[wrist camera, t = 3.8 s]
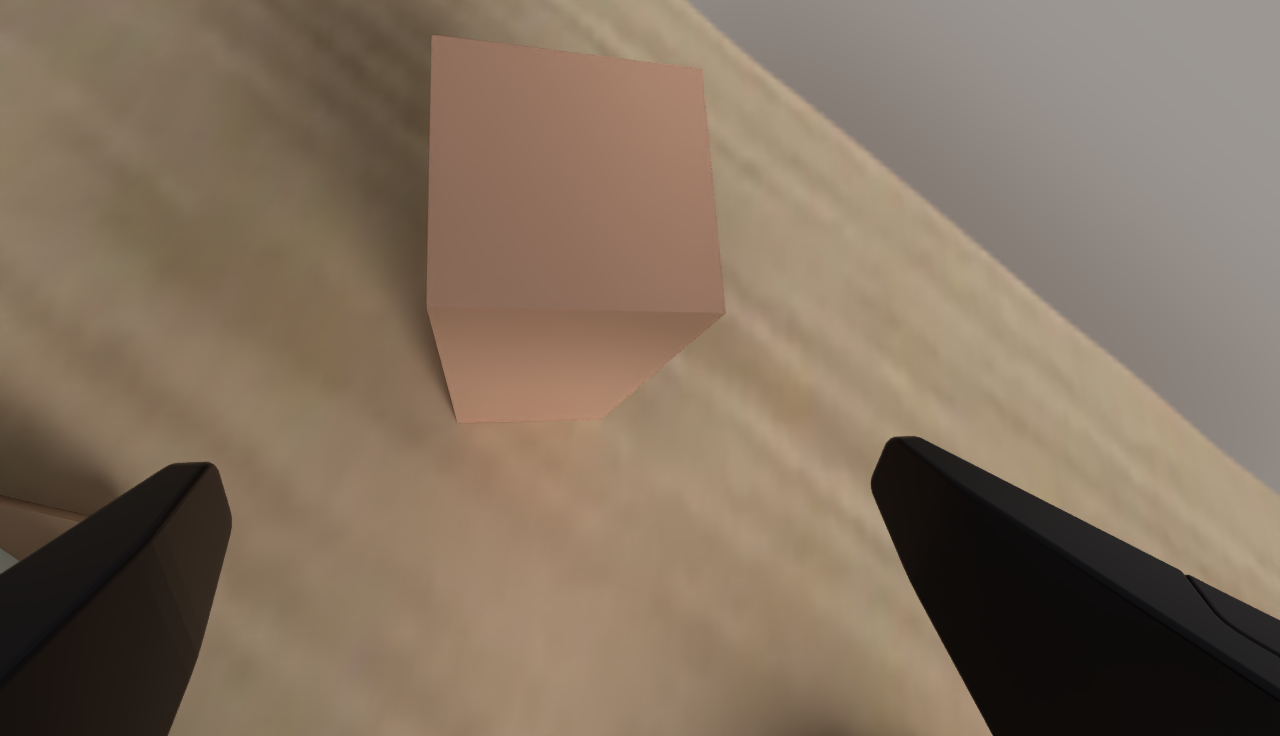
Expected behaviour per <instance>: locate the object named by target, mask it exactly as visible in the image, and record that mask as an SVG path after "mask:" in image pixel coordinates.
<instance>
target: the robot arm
mask: <svg viewBox="0 0 1280 736" xmlns="http://www.w3.org/2000/svg"><path fill="white" fill-rule="evenodd" d="M871 490H872V494H873V496H874V499H875V501H876V503H877V506H878V508H879V510H880V513H881V515H882V517H883V520H884V522H885V525H886V527H887V529H888V532H889V534H890V536H891V539H892V541H893V543H894V546H895V548H896V551H897V553H898V555H899V558H900V560H901V562H902V565H903V567H904V569H905V572H906V574H907V576H908V578H909V580H910V582H911V584H912V586H913V588H914V590H915V592H916V594H917V596H918V598H919V600H920V602H921V604H922V605H923V607H924V609H925V611H926V613H927V615H928V617H929V618H930V620H931V622H932V624H933V626H934V628H935V630H936V631H937V633H938V635H939V637H940V639H941V641H942V643H943V644H944V646H945V648H946V650H947V652H948V654H949V655H950V657H951V659H952V661H953V663H954V665H955V667H956V668H957V670H958V672H959V674H960V676H961V678H962V680H963V681H964V683H965V685H966V687H967V689H968V691H969V692H970V694H971V696H972V698H973V700H974V702H975V704H976V705H977V707H978V709H979V711H980V713H981V715H982V717H983V718H984V720H985V722H986V724H987V726H988V728H989V729H990V731H991V733H992V735H993V736H1280V620H1278V619H1276V618H1274V617H1272V616H1270V615H1268V614H1266V613H1264V612H1262V611H1260V610H1258V609H1256V608H1254V607H1252V606H1250V605H1248V604H1246V603H1244V602H1242V601H1240V600H1238V599H1236V598H1234V597H1232V596H1230V595H1228V594H1226V593H1224V592H1222V591H1220V590H1218V589H1216V588H1214V587H1212V586H1210V585H1208V584H1206V583H1204V582H1202V581H1200V580H1198V579H1196V578H1194V577H1193V576H1190V575H1184V574H1183V572H1182V571H1180V570H1179V569H1177V568H1175V567H1173V566H1171V565H1169V564H1167V563H1165V562H1163V561H1161V560H1159V559H1157V558H1155V557H1153V556H1151V555H1149V554H1147V553H1145V552H1143V551H1141V550H1139V549H1137V548H1135V547H1134V546H1132V545H1130V544H1128V543H1126V542H1124V541H1122V540H1120V539H1118V538H1116V537H1114V536H1112V535H1110V534H1108V533H1106V532H1104V531H1102V530H1100V529H1098V528H1096V527H1094V526H1092V525H1090V524H1088V523H1087V522H1085V521H1083V520H1081V519H1079V518H1077V517H1075V516H1073V515H1071V514H1069V513H1067V512H1065V511H1063V510H1061V509H1059V508H1057V507H1055V506H1053V505H1051V504H1049V503H1047V502H1045V501H1043V500H1042V499H1040V498H1038V497H1036V496H1034V495H1032V494H1030V493H1028V492H1026V491H1024V490H1022V489H1020V488H1018V487H1016V486H1014V485H1012V484H1010V483H1008V482H1006V481H1004V480H1002V479H1000V478H998V477H997V476H995V475H993V474H991V473H989V472H987V471H985V470H983V469H981V468H979V467H977V466H975V465H973V464H971V463H969V462H967V461H965V460H963V459H961V458H959V457H957V456H955V455H953V454H951V453H950V452H948V451H946V450H944V449H942V448H940V447H938V446H936V445H934V444H932V443H930V442H928V441H926V440H924V439H922V438H920V437H916V436H900V437H893V438H891V439H890V440H889V441H887V443H886V444H885V447H884V449H883V451H882V454H881V456H880V458H879V461H878V463H877V465H876V468H875V470H874V472H873V475H872V478H871ZM231 528H232V516H231V511H230V507H229V504H228V500H227V497H226V494H225V490H224V487H223V484H222V480H221V477H220V473H219V471H218V469H217V467H216V466H215V465H214V464H212V463H210V462H187V463H174V464H170V465H168V466H166V467H165V468H163V469H161V470H160V471H158V472H157V473H155V474H154V475H152V476H151V477H149V478H147V479H146V480H144V481H143V482H141V483H140V484H138V485H137V486H135V487H134V488H132V489H130V490H129V491H127V492H126V493H124V494H123V495H121V496H120V497H118V498H117V499H115V500H113V501H112V502H110V503H109V504H107V505H106V506H104V507H103V508H101V509H100V510H98V511H96V512H95V513H93V514H92V515H90V516H89V517H87V518H86V519H84V520H83V521H81V522H79V523H78V524H76V525H75V526H73V527H72V528H70V529H69V530H67V531H66V532H64V533H62V534H61V535H59V536H58V537H56V538H55V539H53V540H52V541H50V542H49V543H47V544H46V545H44V546H42V547H41V548H39V549H38V550H36V551H35V552H33V553H32V554H30V555H29V556H27V557H25V558H24V559H22V560H21V561H19V562H18V563H16V564H15V565H13V566H12V567H10V568H8V569H7V570H5V571H4V572H2V573H1V574H0V736H168V734H169V731H170V729H171V726H172V724H173V721H174V719H175V716H176V713H177V711H178V708H179V706H180V703H181V701H182V698H183V696H184V693H185V690H186V688H187V685H188V683H189V680H190V678H191V675H192V672H193V669H194V666H195V664H196V661H197V658H198V655H199V652H200V648H201V645H202V641H203V638H204V634H205V630H206V626H207V623H208V619H209V615H210V611H211V607H212V603H213V599H214V596H215V592H216V588H217V584H218V580H219V576H220V573H221V569H222V565H223V561H224V557H225V553H226V550H227V546H228V542H229V538H230V534H231Z"/></svg>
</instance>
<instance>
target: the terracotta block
mask: <svg viewBox="0 0 1280 736" xmlns="http://www.w3.org/2000/svg"><path fill="white" fill-rule="evenodd" d="M426 307H427V311H428V315H429V318H430V322H431V326H432V329H433V333H434V337H435V341H436V344H437V348H438V352H439V356H440V359H441V363H442V367H443V370H444V374H445V378H446V382H447V385H448V389H449V393H450V397H451V400H452V404H453V408H454V411H455V415H456V419H457V423H481V422H523V421H564V420H601V419H602V418H603V417H604V416H605V415H606V414H608V413H609V412H610V411H611V410H612V409H613V408H615V407H616V406H617V405H618V404H619V403H620V402H622V401H623V400H624V399H625V398H626V397H628V396H629V395H630V394H631V393H632V392H633V391H635V390H636V389H637V388H638V387H639V386H640V385H642V384H643V383H644V382H645V381H646V380H648V379H649V378H650V377H651V376H652V375H653V374H655V373H656V372H657V371H658V370H659V369H660V368H662V367H663V366H664V365H665V364H666V363H668V362H669V361H670V360H671V359H672V358H673V357H675V356H676V355H677V354H678V353H679V352H680V351H682V350H683V349H684V348H685V347H686V346H688V345H689V344H690V343H691V342H692V341H693V340H695V339H696V338H697V337H698V336H699V335H700V334H702V333H703V332H704V331H705V330H706V329H708V328H709V327H710V326H711V325H712V324H713V323H715V322H716V321H717V320H718V319H719V318H720V317H722V316H723V315H724V314H725V313H726V312H725V301H724V291H723V281H722V271H721V260H720V250H719V240H718V229H717V219H716V209H715V198H714V188H713V178H712V168H711V157H710V147H709V137H708V126H707V116H706V106H705V96H704V85H703V75H702V69H699V68H691V67H683V66H675V65H667V64H659V63H651V62H644V61H636V60H628V59H620V58H612V57H604V56H596V55H589V54H581V53H573V52H565V51H557V50H549V49H541V48H534V47H526V46H518V45H510V44H502V43H494V42H486V41H479V40H471V39H463V38H455V37H447V36H439V35H432V43H431V94H430V146H429V197H428V249H427V300H426Z"/></svg>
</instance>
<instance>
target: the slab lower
mask: <svg viewBox="0 0 1280 736" xmlns="http://www.w3.org/2000/svg"><path fill="white" fill-rule="evenodd" d="M87 517H89V516H86V515H82V514H78V513H74V512H69V511H65V510H61V509H56V508H52V507H48V506H44V505H39V504H35V503H31V502H26V501H22V500H18V499H14V498H9V497H5V496H1V495H0V548H1V549H2V550H4V551H5V552H7V553H8V554H10V555H11V556H13V557H14V558H16V559H17V560H19V561H21V560H22V559H24V558H25V557H27V556H29V555H30V554H32V553H33V552H35V551H36V550H38V549H39V548H41V547H42V546H44V545H46V544H47V543H49V542H50V541H52V540H53V539H55V538H56V537H58V536H59V535H61V534H62V533H64V532H66V531H67V530H69V529H70V528H72V527H73V526H75V525H76V524H78V523H79V522H81V521H83V520H84V519H86V518H87Z"/></svg>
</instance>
